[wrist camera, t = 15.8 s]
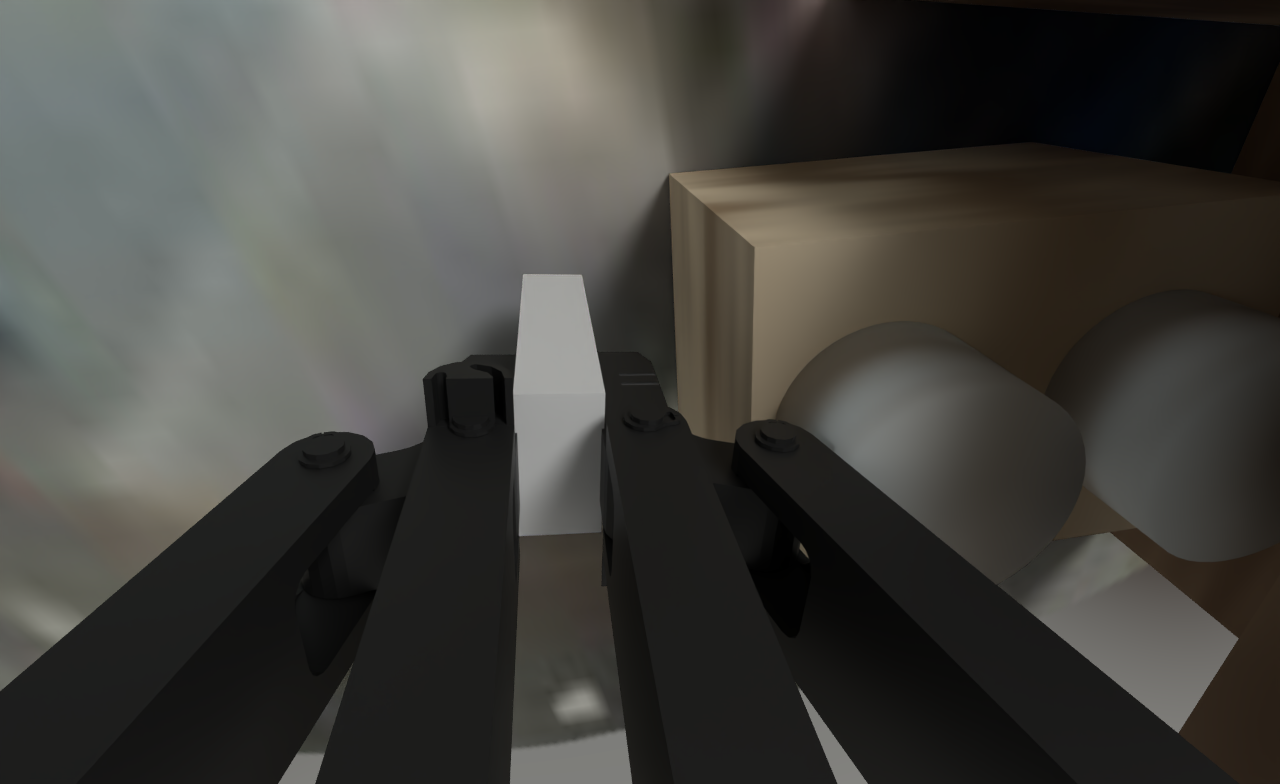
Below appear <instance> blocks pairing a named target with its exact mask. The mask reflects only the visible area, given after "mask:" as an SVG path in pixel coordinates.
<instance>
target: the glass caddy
mask: <svg viewBox="0 0 1280 784" xmlns="http://www.w3.org/2000/svg"><path fill="white" fill-rule="evenodd" d="M669 188H670V214H671V239H672V264H673V290H674V315H675V340H676V365H677V391H678V412H679V413H681V414H682V416H683V417H684V418H685V419H686V421H687V423H688V425H689V428H690V430H691V432H692V434H693V435H696V436H699V437H702V438H706V439H711V440H717V441H723V442H730V443H734V442H735V435H736V430H737V429H738V428H739V427H741V426H742V425H743V424H745V423H749V422H752V421H756V420H767V419H774V420H776V421H778V420H781V421H786V422H788V423H790V424H793V425H796V426H799V427H801V428H803V429H804V430H806V431H808V432H809V433H811V434H813V435H814V436H815V437H816V438H817V439H819V440H820V441H821V442H822V443H824V444H825V445H826V446H827V447H828V448H830V449H831V450H832V451H833V452H835V453H836V454H837V455H838V456H839V457H841V458H842V459H843V460H844V461H846V462H847V463H848V464H849V465H850V466H852V467H853V468H854V469H855V470H857V471H858V472H859V473H860V474H861V475H863V476H864V477H865V478H866V479H868V480H869V481H870V482H871V483H872V484H874V485H875V486H876V487H877V488H879V489H880V490H881V491H882V492H883V493H885V494H886V495H887V496H888V497H890V498H891V499H892V500H893V501H894V502H896V503H897V504H898V505H899V506H901V507H902V508H903V509H904V510H905V511H907V512H908V513H909V514H910V515H912V516H913V517H914V518H915V519H916V520H918V521H919V522H920V523H921V524H923V525H924V526H925V527H926V528H927V529H929V530H930V531H931V532H932V533H934V534H935V535H936V536H937V537H939V538H940V539H941V540H942V541H943V542H945V543H946V544H947V545H948V546H950V547H951V548H952V549H953V550H954V551H956V552H957V553H958V554H959V555H961V556H962V557H963V558H964V559H965V560H967V561H968V562H969V563H970V564H972V565H973V566H974V567H975V568H976V569H978V570H979V571H980V572H981V573H983V574H984V575H985V576H986V577H987V578H989V579H990V580H991V581H992V582H994V583H995V584H996V585H998V584H999V583H1001V582H1003V581H1004V580H1006V579H1008V578H1009V577H1011V576H1012V575H1014V574H1015V573H1017V572H1018V571H1019V570H1021V569H1022V568H1023V567H1025V566H1026V565H1027V564H1028V563H1030V562H1031V561H1032V560H1033V559H1034V558H1035V557H1037V556H1038V555H1039V554H1040V553H1041V552H1042V551H1043V550H1044V549H1045V548H1046V547H1047V546H1048V545H1049V544H1050V542H1051V541H1054V540H1060V539H1067V538H1074V537H1080V536H1087V535H1094V534H1101V533H1107V532H1114V531H1121V530H1127V529H1134V528H1138V529H1139V530H1140V531H1141V532H1143V533H1144V534H1145V535H1147V536H1148V537H1149V538H1150V539H1152V540H1153V541H1154V542H1155V543H1157V544H1158V545H1159V546H1161V547H1162V548H1163V549H1164V550H1166V551H1167V552H1169V553H1170V554H1172V555H1174V556H1176V557H1179V558H1182V559H1185V560H1189V561H1196V562H1217V561H1226V560H1231V559H1236V558H1240V557H1244V556H1247V555H1250V554H1254V553H1256V552H1259V551H1261V550H1264V549H1266V548H1269V547H1271V546H1273V545H1275V544H1277V543H1279V542H1280V318H1279V317H1278V316H1279V314H1280V182H1278V181H1272V180H1266V179H1260V178H1254V177H1247V176H1241V175H1235V174H1229V173H1223V172H1216V171H1210V170H1204V169H1198V168H1191V167H1185V166H1179V165H1173V164H1167V163H1160V162H1154V161H1148V160H1142V159H1136V158H1129V157H1123V156H1117V155H1111V154H1104V153H1098V152H1092V151H1086V150H1080V149H1073V148H1067V147H1061V146H1055V145H1049V144H1042V143H1036V142H1024V143H1013V144H1002V145H990V146H979V147H967V148H956V149H944V150H933V151H922V152H910V153H899V154H887V155H876V156H864V157H853V158H842V159H830V160H819V161H807V162H796V163H784V164H773V165H762V166H750V167H739V168H727V169H716V170H704V171H693V172H681V173H670V174H669ZM799 549H800V550H801V551H802V552H803V553H804V554H805V555H806V556H807V557H808V555H807V553H806V550H805V548H804V547H803V546H802V544H801V543H800V548H799ZM808 558H809V557H808Z"/></svg>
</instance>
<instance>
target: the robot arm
mask: <svg viewBox="0 0 1280 784" xmlns="http://www.w3.org/2000/svg"><path fill="white" fill-rule="evenodd" d="M423 385H424V394H425V403H426V413H427V422H428V429H427V432H426V435H425V438H424V442H422V443H420V444H417V445H415V446H412V447H410V448H406V449H402V450H398V451H393V452H388V453H383V454H378V455H376V454H375V449H374V445H373V442H372V441H371V440H369V439H368V438H366V437H365V436H363V435H359V434H354V433H350V432H324V434H322V433H318V434H314V435H311V436H309V437H307V438H304V439H301V440H299V441H296V442H294V443H292V444H291V445H289V446H287V447H286V448H284V449H283V450H281V451H280V452H279V453H278V454H276V455H275V456H274V457H273V458H272V459H271V460H269V461H268V462H267V463H266V464H265V465H264V466H262V467H261V468H260V469H259V470H258V471H257V472H255V473H254V474H253V475H252V476H251V477H250V478H248V479H247V480H246V481H245V482H244V483H243V484H241V485H240V486H239V487H238V488H237V489H236V490H234V491H233V492H232V493H231V494H230V495H229V496H227V497H226V498H225V499H224V500H223V501H222V502H220V503H219V504H218V505H217V506H216V507H215V508H213V509H212V510H211V511H210V512H209V513H208V514H206V515H205V516H204V517H203V518H202V519H201V520H199V521H198V522H197V523H196V524H195V525H194V526H192V527H191V528H190V529H189V530H188V531H187V532H185V533H184V534H183V535H182V536H181V537H180V538H178V539H177V540H176V541H175V542H174V543H173V544H172V545H170V546H169V547H168V548H167V549H166V550H165V551H163V552H162V553H161V554H160V555H159V556H158V557H156V558H155V559H154V560H153V561H152V562H151V563H149V564H148V565H147V566H146V567H145V568H144V569H142V570H141V571H140V572H139V573H138V574H137V575H135V576H134V577H133V578H132V579H131V580H130V581H128V582H127V583H126V584H125V585H124V586H123V587H121V588H120V589H119V590H118V591H117V592H116V593H114V594H113V595H112V596H111V597H110V598H109V599H107V600H106V601H105V602H104V603H103V604H102V605H100V606H99V607H98V608H97V609H96V610H95V611H93V612H92V613H91V614H90V615H89V616H88V617H86V618H85V619H84V620H83V621H82V622H81V623H79V624H78V625H77V626H76V627H75V628H74V629H72V630H71V631H70V632H69V633H68V634H67V635H65V636H64V637H63V638H62V639H61V640H60V641H58V642H57V643H56V644H55V645H54V646H53V647H51V648H50V649H49V650H48V651H47V652H46V653H44V654H43V655H42V656H41V657H40V658H39V659H37V660H36V661H35V662H34V663H33V664H32V665H30V666H29V667H28V668H27V669H26V670H25V671H23V672H22V673H21V674H20V675H19V676H18V677H16V678H15V679H14V680H13V681H12V682H11V683H9V684H8V685H7V686H6V687H5V688H4V689H2V690H1V691H0V784H278V783H279V781H280V780H281V778H282V776H283V775H284V773H285V771H286V770H287V768H288V767H289V765H290V764H291V762H292V760H293V759H294V757H295V755H296V754H297V752H298V751H299V749H300V747H301V746H302V744H303V743H304V741H305V739H306V738H307V736H308V734H309V733H310V731H311V730H312V728H313V726H314V725H315V723H316V722H317V720H318V718H319V717H320V715H321V713H322V712H323V710H324V709H325V707H326V705H327V704H328V702H329V701H330V699H331V697H332V696H333V694H334V692H335V691H336V689H337V688H338V686H339V684H340V683H341V681H342V680H343V678H344V676H345V675H346V673H347V672H348V670H349V668H350V667H351V665H352V663H353V662H354V663H353V666H352V669H351V672H350V676H349V679H348V682H347V685H346V688H345V691H344V695H343V698H342V701H341V704H340V707H339V710H338V714H337V717H336V720H335V723H334V726H333V729H332V733H331V736H330V739H329V742H328V745H327V748H326V752H325V755H324V758H323V761H322V764H321V768H320V771H319V774H318V777H317V780H316V783H315V784H510V765H511V744H512V721H513V698H514V676H515V653H516V630H517V608H518V585H519V563H520V549H519V536H535V535H556V534H578V533H600V532H601V523H602V522H603V554H602V585H601V586H607V589H608V597H609V605H610V613H611V621H612V628H613V636H614V644H615V652H616V659H617V667H618V675H619V683H620V691H621V698H622V706H623V714H624V722H625V729H626V737H627V745H628V753H629V761H630V768H631V775H632V784H837V782H836V779H835V777H834V775H833V772H832V770H831V768H830V765H829V763H828V760H827V758H826V756H825V753H824V751H823V748H822V746H821V743H820V741H819V738H818V736H817V734H816V731H815V729H814V726H813V724H812V722H811V719H810V717H809V714H808V712H807V709H806V707H805V705H804V702H803V700H802V698H801V695H800V693H799V690H798V688H797V685H796V683H797V684H798V686H799V687H800V689H801V690H802V691H803V693H804V694H805V695H806V697H807V698H808V700H809V701H810V703H811V704H812V705H813V707H814V708H815V710H816V711H817V712H818V714H819V715H820V717H821V718H822V720H823V721H824V722H825V724H826V725H827V727H828V728H829V729H830V731H831V732H832V734H833V735H834V736H835V738H836V739H837V741H838V742H839V744H840V745H841V746H842V748H843V749H844V751H845V752H846V753H847V755H848V756H849V758H850V759H851V760H852V762H853V763H854V765H855V766H856V767H857V769H858V770H859V771H860V773H861V774H862V776H863V777H864V779H865V780H866V781H867V783H868V784H1239V783H1238V782H1237V781H1236V780H1234V779H1233V778H1232V777H1231V776H1230V775H1228V774H1227V773H1226V772H1225V771H1223V770H1222V769H1221V768H1220V767H1219V766H1217V765H1216V764H1215V763H1214V762H1212V761H1211V760H1210V759H1209V758H1208V757H1206V756H1205V755H1204V754H1203V753H1201V752H1200V751H1199V750H1198V749H1197V748H1195V747H1194V746H1193V745H1192V744H1190V743H1189V742H1188V741H1187V740H1186V739H1184V738H1183V737H1182V736H1181V735H1179V734H1178V733H1177V732H1176V731H1175V730H1173V729H1172V728H1171V727H1170V726H1168V725H1167V724H1166V723H1165V722H1164V721H1162V720H1161V719H1160V718H1158V717H1157V716H1156V715H1155V714H1154V713H1153V712H1151V711H1150V710H1149V709H1148V708H1146V707H1145V706H1144V705H1143V704H1141V703H1140V702H1139V701H1138V700H1137V699H1135V698H1134V697H1133V696H1132V695H1131V694H1129V693H1128V692H1127V691H1126V690H1124V689H1123V688H1122V687H1121V686H1119V685H1118V684H1117V683H1116V682H1115V681H1113V680H1112V679H1111V678H1110V677H1108V676H1107V675H1106V674H1105V673H1103V672H1102V671H1101V670H1100V669H1099V668H1098V667H1096V666H1095V665H1094V664H1092V663H1091V662H1090V661H1089V660H1088V659H1086V658H1085V657H1084V656H1083V655H1082V654H1080V653H1079V652H1078V651H1077V650H1075V649H1074V648H1073V647H1072V646H1071V645H1069V644H1068V643H1067V642H1066V641H1064V640H1063V639H1062V638H1061V637H1059V636H1058V635H1057V634H1056V633H1055V632H1053V631H1052V630H1051V629H1050V628H1049V627H1047V626H1046V625H1045V624H1044V623H1042V622H1041V621H1040V620H1039V619H1038V618H1036V617H1035V616H1034V615H1033V614H1031V613H1030V612H1029V611H1028V610H1027V609H1025V608H1024V607H1023V606H1022V605H1020V604H1019V603H1018V602H1017V601H1016V600H1014V599H1013V598H1012V597H1011V596H1009V595H1008V594H1007V593H1006V592H1005V591H1003V590H1002V589H1001V588H1000V587H998V586H997V585H996V584H995V583H994V582H992V581H991V580H990V579H989V578H987V577H986V576H985V575H984V574H983V573H981V572H980V571H979V570H978V569H976V568H975V567H974V566H973V565H972V564H970V563H969V562H968V561H967V560H965V559H964V558H963V557H962V556H961V555H959V554H958V553H957V552H956V551H954V550H953V549H952V548H951V547H950V546H948V545H947V544H946V543H945V542H943V541H942V540H941V539H940V538H939V537H937V536H936V535H935V534H934V533H932V532H931V531H930V530H929V529H927V528H926V527H925V526H924V525H923V524H921V523H920V522H919V521H918V520H916V519H915V518H914V517H913V516H912V515H910V514H909V513H908V512H907V511H905V510H904V509H903V508H902V507H901V506H899V505H898V504H897V503H896V502H894V501H893V500H892V499H891V498H890V497H888V496H887V495H886V494H885V493H883V492H882V491H881V490H880V489H879V488H877V487H876V486H875V485H874V484H872V483H871V482H870V481H869V480H868V479H866V478H865V477H864V476H863V475H861V474H860V473H859V472H858V471H857V470H855V469H854V468H853V467H852V466H850V465H849V464H848V463H847V462H846V461H844V460H843V459H842V458H841V457H839V456H838V455H837V454H836V453H835V452H833V451H832V450H831V449H830V448H828V447H827V446H826V445H825V444H824V443H822V442H821V441H820V440H819V439H817V438H816V437H815V436H814V435H813V434H811V433H809V432H808V431H806V430H804V429H803V428H801V427H799V426H796V425H793V424H790V423H788V422H786V421H781V420H778V421H776V420H774V419H767V420H756V421H752V422H749V423H745V424H743V425H742V426H741V427H739V428H738V429H737V430H736V435H735V442H734V443H730V442H723V441H717V440H711V439H706V438H702V437H699V436H696V435H693V434H692V432H691V430H690V428H689V425H688V423H687V421H686V419H685V418H684V417H683V416H682V414H681V413H679V412H677V411H675V410H673V409H671V408H669V407H668V406H667V403H666V400H665V398H664V395H663V392H662V390H661V387H660V384H659V382H658V379H657V376H656V375H655V371H654V368H653V366H652V363H651V361H649V360H648V359H647V358H645V357H644V356H642V355H641V354H640V353H638V352H597V349H596V344H595V339H594V334H593V329H592V324H591V319H590V314H589V309H588V304H587V299H586V294H585V289H584V284H583V279H582V275H555V274H523V283H522V294H521V306H520V318H519V329H518V341H517V352H516V355H470V356H469V357H468V358H466V359H465V360H464V361H462V362H455V363H451V364H447V365H443V366H440V367H438V368H436V369H434V370H432V371H430V372H428V374H427V375H426V376H425V377H424V378H423ZM800 543H801V544H802V546H803V547H804V548H805V550H806V553H807V555H808V557H809V558H808V557H807V556H806V555H805V554H804V553H803V552H802V551H801V550H800V549H799V548H800ZM794 680H795V681H794ZM795 682H796V683H795Z"/></svg>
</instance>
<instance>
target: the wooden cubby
mask: <svg viewBox="0 0 1280 784" xmlns="http://www.w3.org/2000/svg"><path fill="white" fill-rule="evenodd" d="M913 1H928V2H942V3H957V4H971V5H986V6H1001V7H1015V8H1030V9H1045V10H1059V11H1074V12H1088V13H1103V14H1118V15H1132V16H1147V17H1161V18H1176V19H1191V20H1205V21H1220V22H1235V23H1249V24H1264V25H1278V26H1280V0H913ZM1231 174H1235V175H1241V176H1247V177H1254V178H1260V179H1266V180H1272V181H1278V182H1280V62H1279V65H1278V67H1277V69H1276V71H1275V74H1274V76H1273V78H1272V81H1271V83H1270V85H1269V88H1268V90H1267V92H1266V94H1265V97H1264V99H1263V101H1262V104H1261V106H1260V108H1259V111H1258V113H1257V115H1256V117H1255V120H1254V122H1253V124H1252V127H1251V129H1250V131H1249V133H1248V136H1247V138H1246V140H1245V143H1244V145H1243V147H1242V150H1241V152H1240V154H1239V156H1238V159H1237V161H1236V163H1235V166H1234V168H1233V170H1232V172H1231ZM1278 317H1279V318H1280V314H1279V316H1278ZM1110 533H1112V534H1113V535H1114V536H1115V537H1116V538H1118V539H1119V540H1120V541H1121V542H1123V543H1124V544H1125V545H1126V546H1127V547H1129V548H1130V549H1131V550H1132V551H1133V552H1135V553H1136V554H1137V555H1138V556H1139V557H1141V558H1142V559H1143V560H1144V561H1146V562H1147V563H1148V564H1149V565H1151V566H1152V567H1153V568H1154V569H1155V570H1156V571H1158V572H1159V573H1160V574H1161V575H1163V576H1164V577H1165V578H1166V579H1168V580H1169V581H1170V582H1171V583H1172V584H1173V585H1175V586H1176V587H1177V588H1178V589H1180V590H1181V591H1182V592H1183V593H1184V594H1186V595H1187V596H1188V597H1189V598H1190V599H1192V600H1193V601H1194V602H1195V603H1197V604H1198V605H1199V606H1200V607H1201V608H1203V609H1204V610H1205V611H1206V612H1207V613H1209V614H1210V615H1211V616H1212V617H1214V618H1215V619H1216V620H1217V621H1218V622H1220V623H1221V624H1222V625H1223V626H1224V627H1226V628H1227V629H1228V630H1229V631H1231V632H1232V633H1233V634H1234V635H1235V636H1237V637H1238V638H1239V639H1238V641H1237V642H1236V644H1235V645H1234V647H1233V649H1232V650H1231V652H1230V653H1229V655H1228V657H1227V658H1226V660H1225V661H1224V663H1223V665H1222V666H1221V667H1220V669H1219V671H1218V672H1217V674H1216V675H1215V677H1214V678H1213V680H1212V681H1211V683H1210V685H1209V686H1208V688H1207V689H1206V691H1205V692H1204V694H1203V696H1202V697H1201V699H1200V700H1199V702H1198V703H1197V705H1196V707H1195V708H1194V710H1193V711H1192V713H1191V714H1190V716H1189V717H1188V719H1187V721H1186V722H1185V724H1184V725H1183V727H1182V729H1181V730H1180V732H1179V733H1178V734H1179V735H1181V736H1182V737H1183V738H1184V739H1186V740H1187V741H1188V742H1189V743H1190V744H1192V745H1193V746H1194V747H1195V748H1197V749H1198V750H1199V751H1200V752H1201V753H1203V754H1204V755H1205V756H1206V757H1208V758H1209V759H1210V760H1211V761H1212V762H1214V763H1215V764H1216V765H1217V766H1219V767H1220V768H1221V769H1222V770H1223V771H1225V772H1226V773H1227V774H1228V775H1230V776H1231V777H1232V778H1233V779H1234V780H1236V781H1237V782H1238V783H1239V784H1280V542H1279V543H1277V544H1275V545H1273V546H1271V547H1269V548H1266V549H1264V550H1261V551H1259V552H1256V553H1254V554H1250V555H1247V556H1244V557H1240V558H1236V559H1231V560H1226V561H1217V562H1196V561H1189V560H1185V559H1182V558H1179V557H1176V556H1174V555H1172V554H1170V553H1169V552H1167V551H1166V550H1164V549H1163V548H1162V547H1161V546H1159V545H1158V544H1157V543H1155V542H1154V541H1153V540H1152V539H1150V538H1149V537H1148V536H1147V535H1145V534H1144V533H1143V532H1141V531H1140V530H1139V529H1138V528H1134V529H1127V530H1121V531H1114V532H1110Z"/></svg>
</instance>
